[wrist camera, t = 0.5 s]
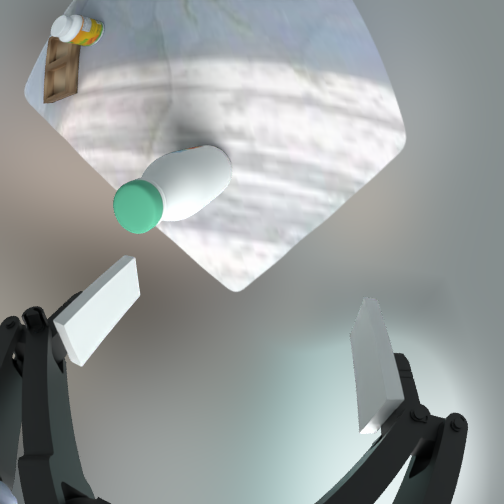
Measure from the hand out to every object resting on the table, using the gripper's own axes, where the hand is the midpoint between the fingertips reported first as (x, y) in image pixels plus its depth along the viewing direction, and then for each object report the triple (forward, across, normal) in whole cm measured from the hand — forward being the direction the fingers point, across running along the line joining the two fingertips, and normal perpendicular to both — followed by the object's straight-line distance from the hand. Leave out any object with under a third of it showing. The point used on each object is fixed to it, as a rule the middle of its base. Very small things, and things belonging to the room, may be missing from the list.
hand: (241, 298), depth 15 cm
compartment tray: (+27, -43, +23) cm, 55 cm away
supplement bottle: (+27, -36, +27) cm, 53 cm away
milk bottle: (+27, -11, +1) cm, 29 cm away
